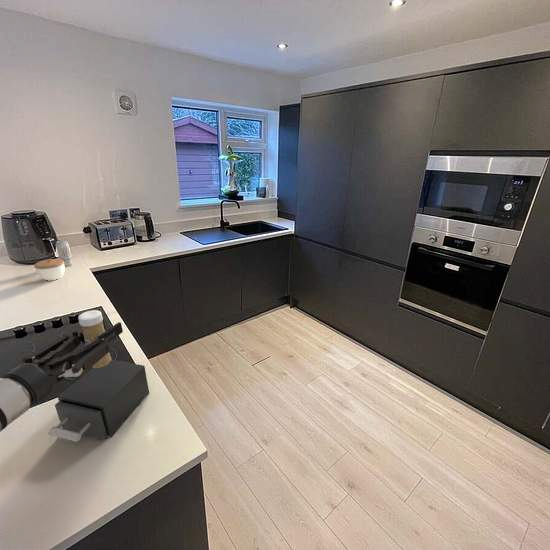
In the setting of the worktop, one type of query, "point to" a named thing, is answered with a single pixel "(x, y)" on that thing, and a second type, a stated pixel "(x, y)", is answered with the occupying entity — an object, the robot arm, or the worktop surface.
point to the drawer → (78, 422)
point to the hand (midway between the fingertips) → (111, 325)
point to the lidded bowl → (50, 269)
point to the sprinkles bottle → (93, 332)
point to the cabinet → (110, 391)
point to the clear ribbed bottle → (64, 252)
